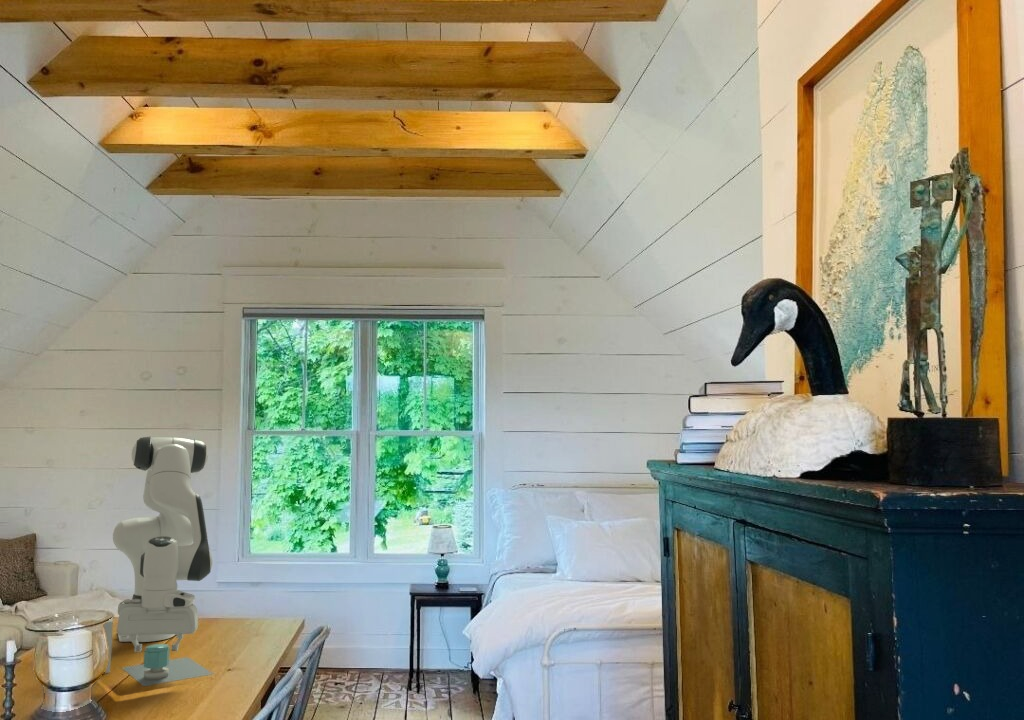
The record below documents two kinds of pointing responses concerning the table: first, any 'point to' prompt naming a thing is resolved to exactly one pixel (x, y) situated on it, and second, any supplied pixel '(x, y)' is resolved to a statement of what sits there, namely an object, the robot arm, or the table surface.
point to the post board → (173, 672)
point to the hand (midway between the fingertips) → (156, 651)
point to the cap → (156, 656)
